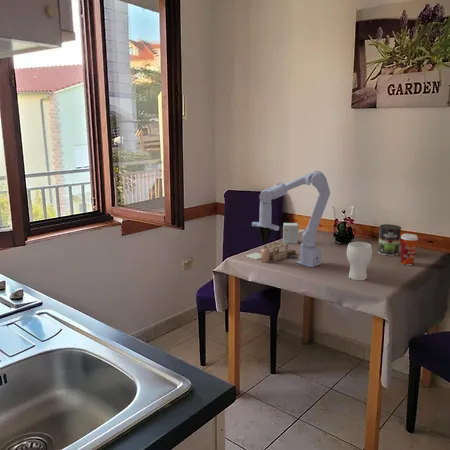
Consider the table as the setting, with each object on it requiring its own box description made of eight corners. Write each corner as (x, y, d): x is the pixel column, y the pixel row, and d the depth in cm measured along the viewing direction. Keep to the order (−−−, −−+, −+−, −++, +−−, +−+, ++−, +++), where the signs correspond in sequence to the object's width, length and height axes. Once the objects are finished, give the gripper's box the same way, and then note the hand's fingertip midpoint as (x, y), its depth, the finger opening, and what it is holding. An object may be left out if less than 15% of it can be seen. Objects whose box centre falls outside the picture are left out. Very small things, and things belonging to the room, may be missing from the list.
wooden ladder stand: (287, 257, 229) (287, 244, 227) (273, 261, 222) (273, 248, 221) (277, 254, 233) (278, 241, 232) (264, 258, 227) (264, 245, 225)
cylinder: (270, 261, 223) (271, 249, 221) (266, 263, 220) (266, 251, 218) (264, 259, 225) (264, 247, 224) (259, 261, 222) (259, 249, 221)
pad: (267, 256, 229) (267, 256, 229) (255, 260, 224) (255, 259, 224) (255, 253, 235) (255, 252, 235) (244, 256, 230) (244, 255, 230)
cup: (365, 273, 205) (367, 241, 202) (373, 281, 195) (376, 248, 191) (342, 273, 205) (344, 241, 201) (349, 282, 195) (351, 248, 191)
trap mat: (298, 257, 228) (298, 256, 228) (293, 258, 226) (293, 258, 226) (292, 255, 231) (292, 254, 231) (287, 257, 229) (287, 256, 229)
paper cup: (405, 267, 213) (407, 238, 210) (394, 262, 221) (397, 234, 217) (419, 265, 215) (422, 236, 212) (408, 260, 223) (411, 232, 219)
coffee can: (399, 256, 229) (402, 229, 225) (378, 255, 231) (380, 228, 228) (397, 250, 238) (399, 224, 235) (376, 249, 241) (378, 223, 237)
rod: (295, 255, 233) (295, 250, 233) (267, 261, 224) (267, 256, 223) (292, 253, 235) (292, 249, 235) (264, 259, 226) (264, 255, 225)
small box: (297, 241, 257) (297, 222, 255) (297, 243, 252) (298, 225, 250) (282, 240, 258) (283, 222, 256) (283, 243, 253) (283, 225, 250)
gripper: (282, 215, 216) (282, 243, 219) (258, 211, 225) (257, 238, 228) (274, 218, 210) (273, 246, 214) (249, 214, 219) (249, 241, 223)
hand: (264, 242), depth 220 cm, fingers closed
